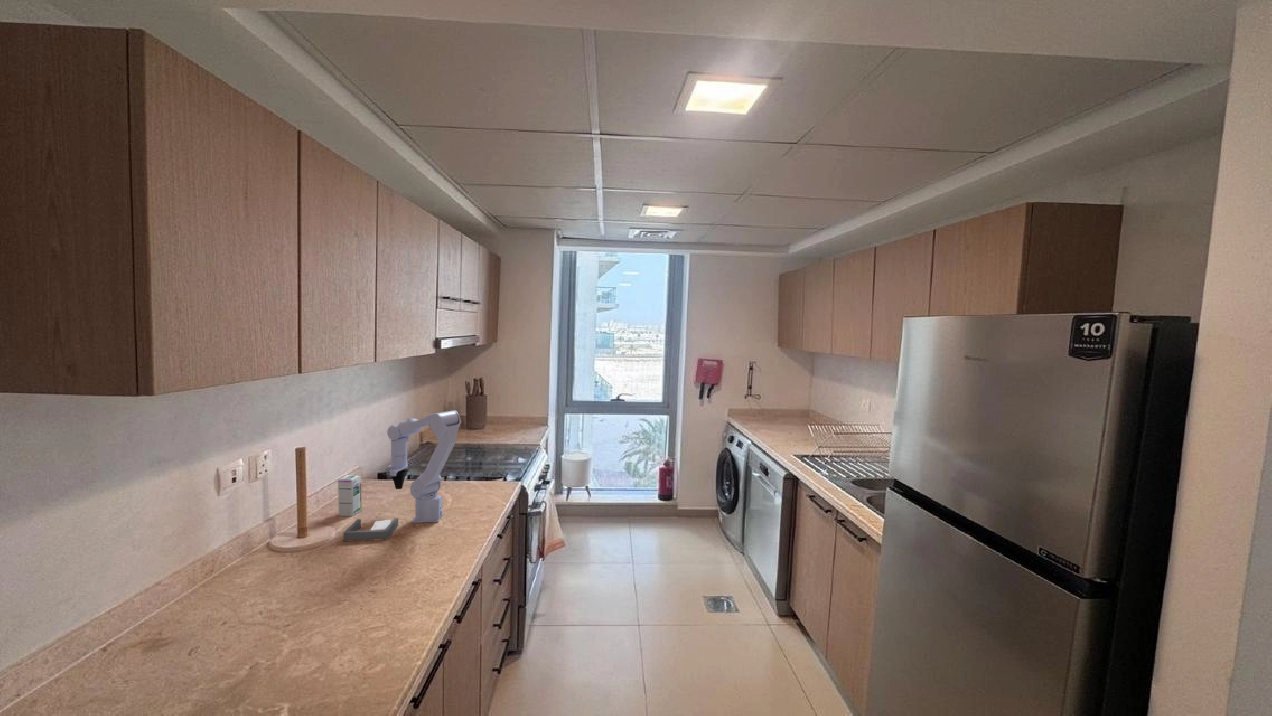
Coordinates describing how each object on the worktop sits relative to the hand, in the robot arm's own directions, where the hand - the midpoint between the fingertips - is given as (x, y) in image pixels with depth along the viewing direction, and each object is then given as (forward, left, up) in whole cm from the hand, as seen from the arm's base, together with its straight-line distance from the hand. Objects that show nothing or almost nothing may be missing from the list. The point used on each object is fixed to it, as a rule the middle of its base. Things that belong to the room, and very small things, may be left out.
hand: (399, 488), depth 191 cm
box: (+3, +19, -9) cm, 21 cm away
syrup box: (+18, 0, -10) cm, 20 cm away
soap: (0, +19, -10) cm, 21 cm away
